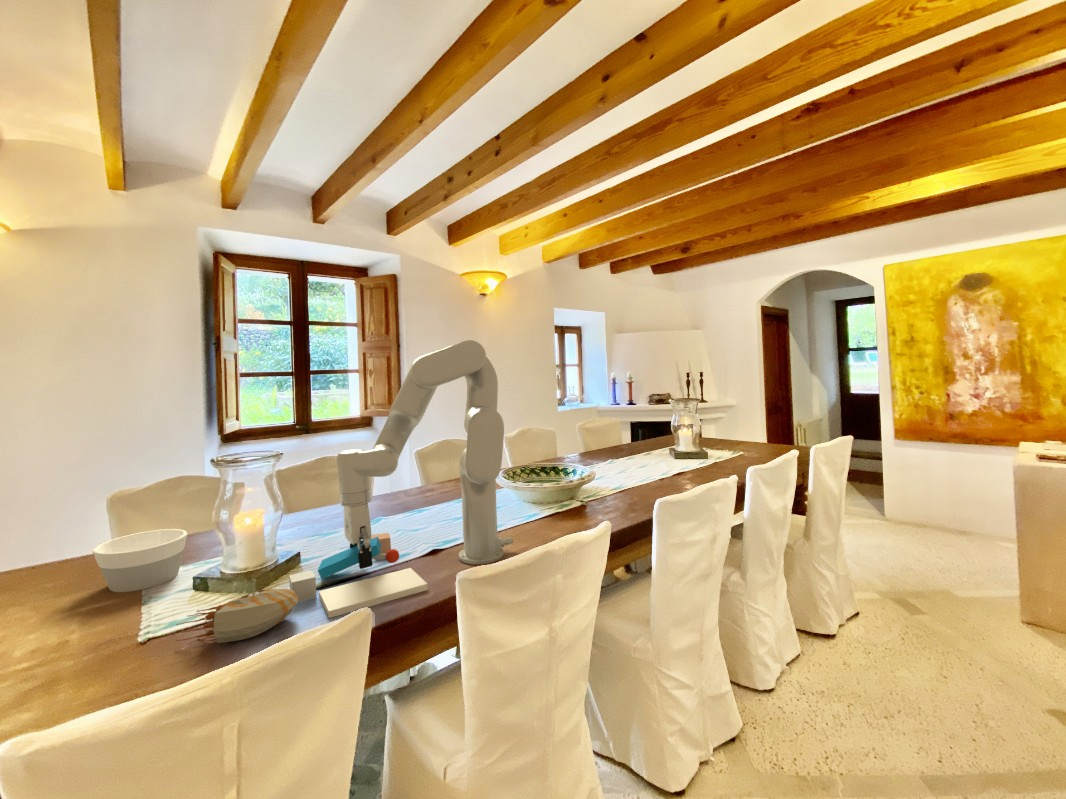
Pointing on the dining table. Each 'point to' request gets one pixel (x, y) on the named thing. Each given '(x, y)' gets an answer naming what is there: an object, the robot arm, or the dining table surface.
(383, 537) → the terracotta block
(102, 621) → the dining table surface
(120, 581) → the bowl
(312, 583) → the grey block
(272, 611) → the nautilus
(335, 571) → the lever
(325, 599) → the board
